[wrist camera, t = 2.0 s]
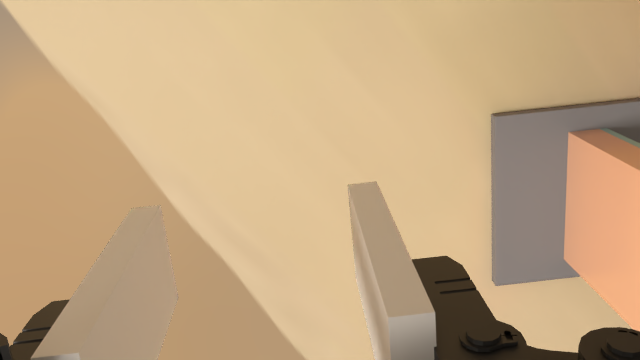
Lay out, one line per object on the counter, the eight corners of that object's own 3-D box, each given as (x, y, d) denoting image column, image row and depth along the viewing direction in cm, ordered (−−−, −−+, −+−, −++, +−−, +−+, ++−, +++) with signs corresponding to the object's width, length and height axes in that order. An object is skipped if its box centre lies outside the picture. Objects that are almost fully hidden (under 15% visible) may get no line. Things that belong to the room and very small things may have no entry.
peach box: (563, 259, 41) (669, 365, 30) (568, 132, 39) (686, 196, 27) (599, 255, 42) (718, 359, 30) (606, 128, 39) (740, 189, 27)
